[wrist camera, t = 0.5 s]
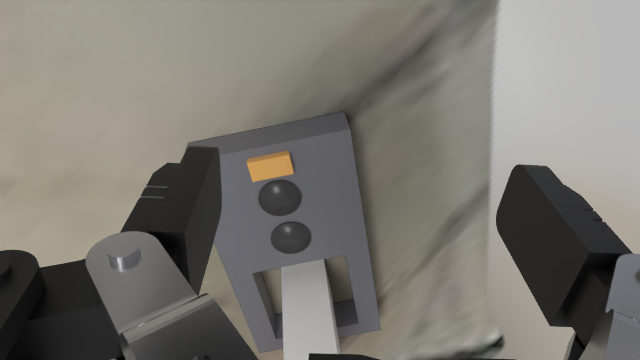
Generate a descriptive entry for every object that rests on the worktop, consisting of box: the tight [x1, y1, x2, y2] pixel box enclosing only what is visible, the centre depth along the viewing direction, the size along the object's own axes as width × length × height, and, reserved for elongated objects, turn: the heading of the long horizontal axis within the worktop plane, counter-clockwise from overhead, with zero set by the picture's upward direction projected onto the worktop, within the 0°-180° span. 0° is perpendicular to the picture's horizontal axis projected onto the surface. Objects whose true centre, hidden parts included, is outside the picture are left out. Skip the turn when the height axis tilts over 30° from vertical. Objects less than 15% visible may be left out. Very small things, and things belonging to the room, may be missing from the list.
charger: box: [281, 259, 341, 360], centre depth 38 cm, size 4×4×11 cm
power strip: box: [185, 111, 381, 353], centre depth 38 cm, size 22×12×4 cm, turn 10°
